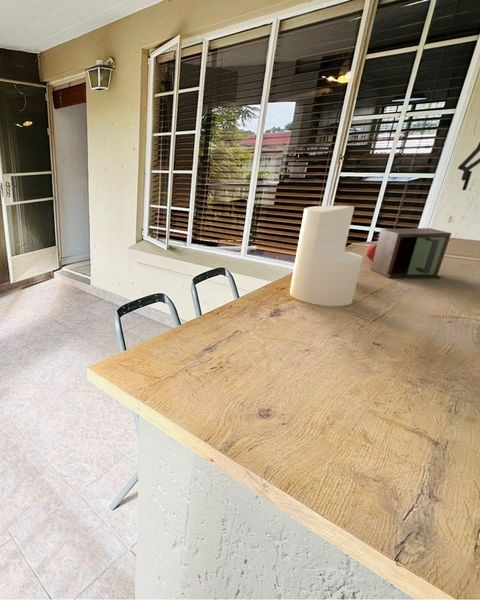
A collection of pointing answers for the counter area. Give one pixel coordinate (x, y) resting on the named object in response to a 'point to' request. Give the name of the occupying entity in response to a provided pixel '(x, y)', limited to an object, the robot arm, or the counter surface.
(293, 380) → the counter surface
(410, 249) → the cabinet
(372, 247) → the onion
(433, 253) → the door
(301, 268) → the cream stepped cylinder
